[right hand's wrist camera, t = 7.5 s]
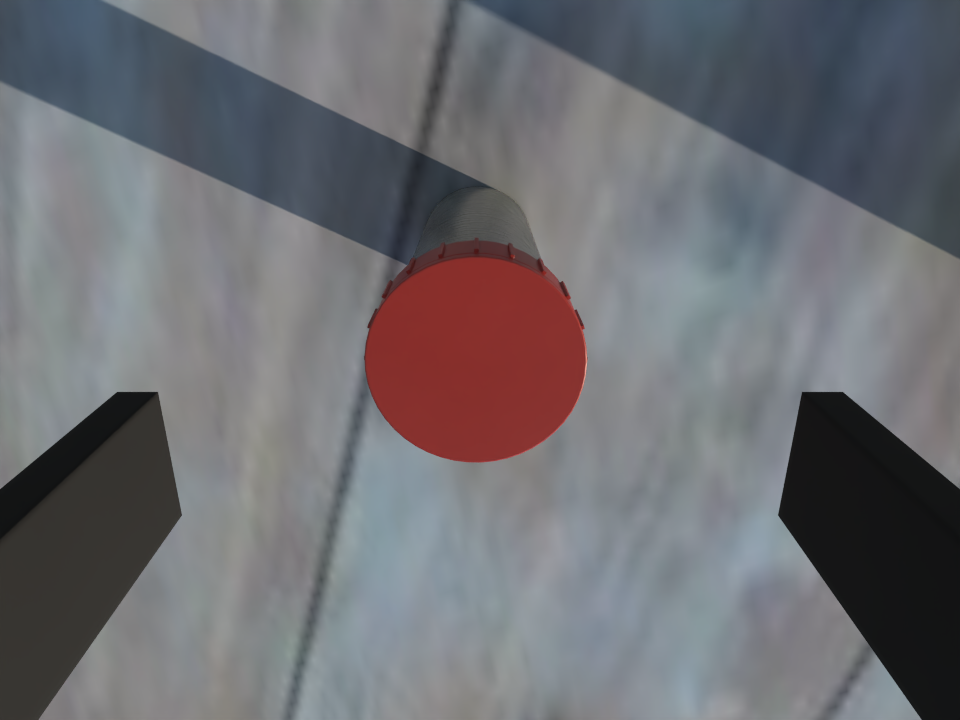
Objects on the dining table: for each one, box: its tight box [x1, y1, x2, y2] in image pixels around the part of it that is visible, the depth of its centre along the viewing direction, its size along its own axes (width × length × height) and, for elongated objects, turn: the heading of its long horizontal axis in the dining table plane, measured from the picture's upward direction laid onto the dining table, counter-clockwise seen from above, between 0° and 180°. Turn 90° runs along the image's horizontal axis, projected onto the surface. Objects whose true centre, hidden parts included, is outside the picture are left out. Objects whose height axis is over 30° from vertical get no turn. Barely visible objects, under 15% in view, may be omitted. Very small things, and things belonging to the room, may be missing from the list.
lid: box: [364, 238, 588, 462], centre depth 18 cm, size 6×6×2 cm
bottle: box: [413, 187, 541, 260], centre depth 24 cm, size 5×5×15 cm
